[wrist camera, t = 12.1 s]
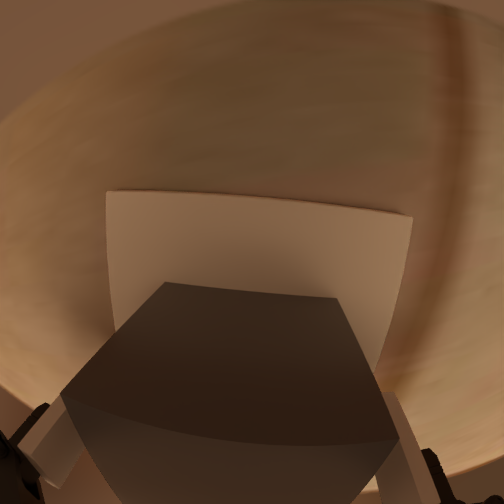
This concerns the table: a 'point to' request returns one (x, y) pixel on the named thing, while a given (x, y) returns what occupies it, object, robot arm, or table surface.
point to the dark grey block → (232, 401)
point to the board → (258, 252)
